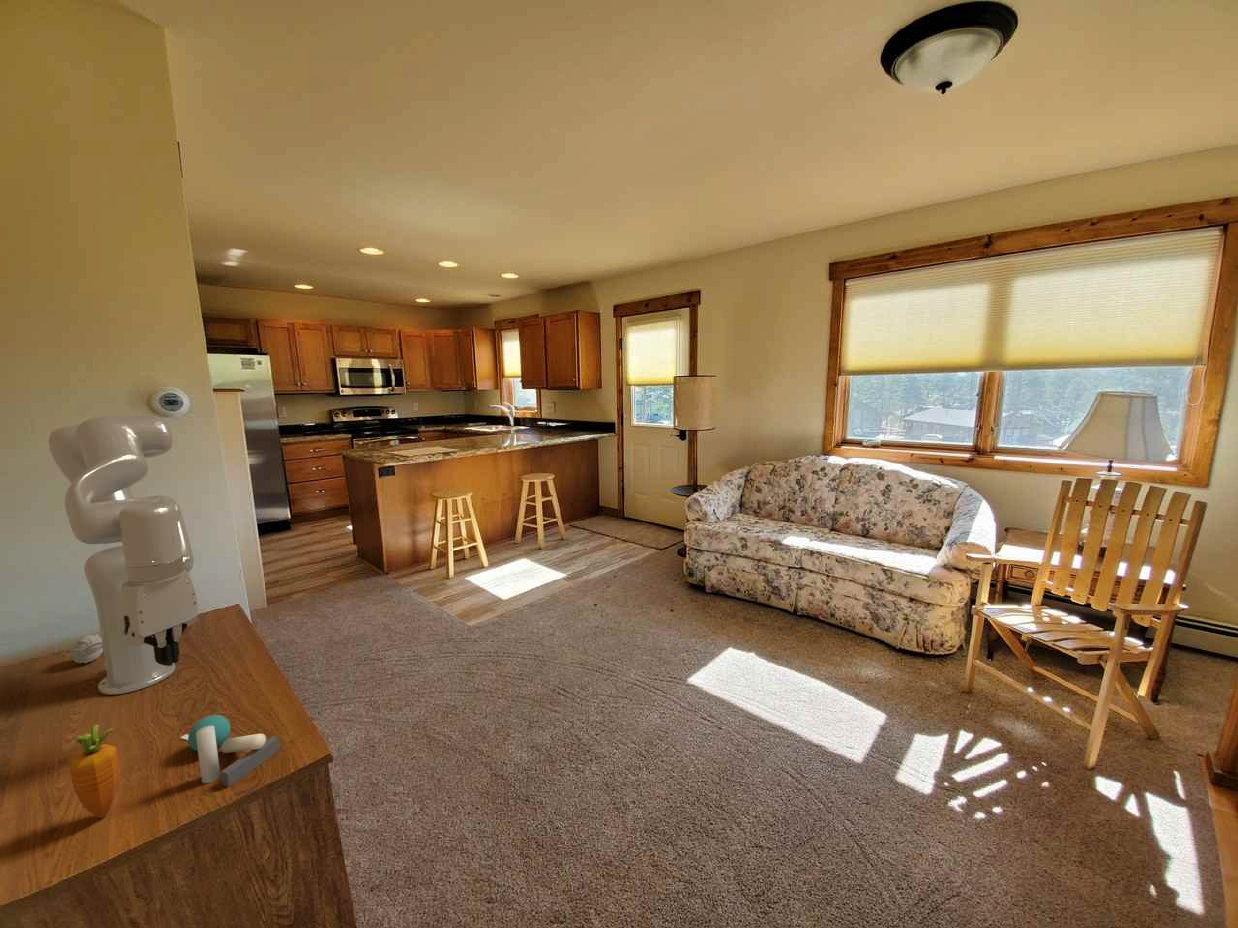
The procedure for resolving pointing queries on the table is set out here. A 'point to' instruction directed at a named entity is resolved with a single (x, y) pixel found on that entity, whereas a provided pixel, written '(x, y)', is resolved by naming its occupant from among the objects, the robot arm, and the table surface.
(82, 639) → the white ridged lump
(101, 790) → the carrot
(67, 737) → the table surface
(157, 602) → the robot arm
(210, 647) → the table surface
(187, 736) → the lane line
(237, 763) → the wall
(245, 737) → the ivory pin
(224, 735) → the ball
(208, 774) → the white cylinder rod
